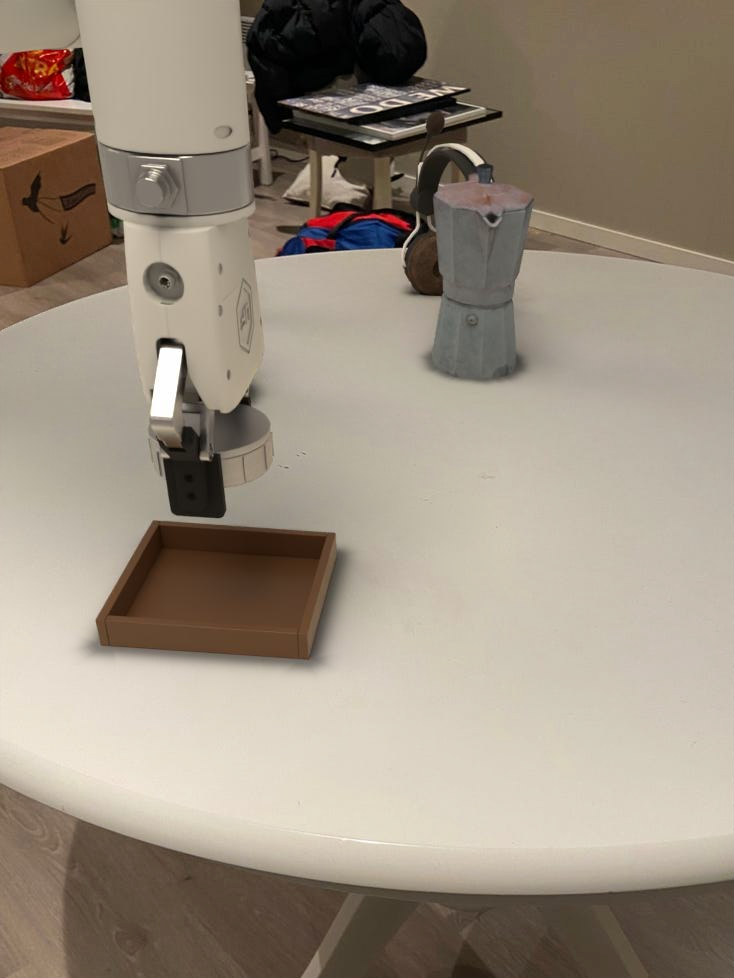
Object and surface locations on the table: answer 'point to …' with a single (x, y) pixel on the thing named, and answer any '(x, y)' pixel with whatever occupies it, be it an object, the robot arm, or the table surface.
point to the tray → (221, 590)
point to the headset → (432, 208)
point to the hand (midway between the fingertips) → (215, 481)
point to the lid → (232, 444)
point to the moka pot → (479, 274)
